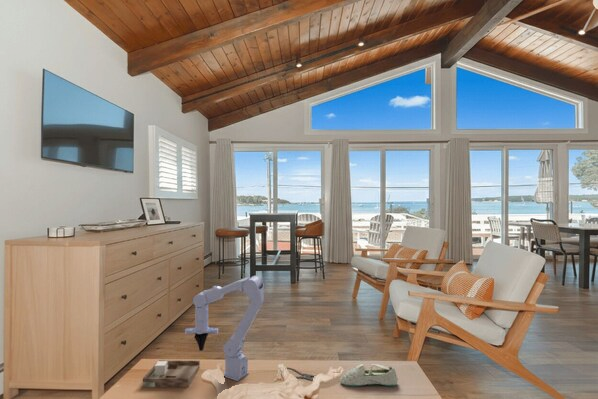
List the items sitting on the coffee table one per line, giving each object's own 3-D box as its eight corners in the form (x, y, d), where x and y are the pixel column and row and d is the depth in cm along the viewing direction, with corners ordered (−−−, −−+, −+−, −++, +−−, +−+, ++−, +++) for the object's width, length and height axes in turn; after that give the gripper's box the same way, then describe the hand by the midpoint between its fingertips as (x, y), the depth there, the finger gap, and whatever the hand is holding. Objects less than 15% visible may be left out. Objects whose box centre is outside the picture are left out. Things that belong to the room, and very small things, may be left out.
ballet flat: (338, 377, 144) (338, 358, 144) (394, 377, 144) (394, 359, 144) (340, 388, 135) (341, 368, 135) (400, 388, 135) (400, 369, 135)
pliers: (279, 366, 152) (322, 369, 149) (279, 368, 152) (322, 371, 149) (274, 377, 142) (320, 380, 139) (274, 379, 142) (320, 382, 139)
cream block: (167, 370, 144) (167, 360, 144) (164, 374, 140) (164, 365, 140) (158, 370, 144) (158, 361, 144) (154, 375, 140) (155, 365, 140)
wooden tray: (199, 368, 150) (199, 360, 150) (188, 387, 134) (188, 378, 134) (158, 368, 150) (159, 360, 150) (142, 387, 134) (142, 378, 134)
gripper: (182, 322, 144) (182, 353, 144) (215, 322, 145) (215, 353, 144) (187, 317, 151) (187, 346, 151) (219, 317, 152) (219, 346, 151)
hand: (201, 349), depth 148 cm, fingers closed
